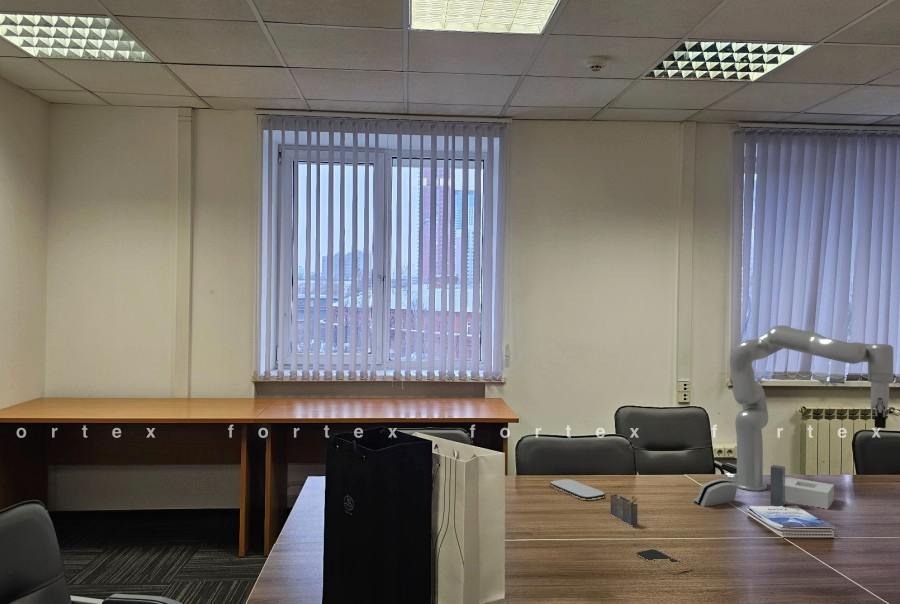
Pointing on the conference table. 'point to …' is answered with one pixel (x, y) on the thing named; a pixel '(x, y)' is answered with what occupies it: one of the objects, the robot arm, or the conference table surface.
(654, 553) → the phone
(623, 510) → the grey upright flat piece
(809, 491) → the well block
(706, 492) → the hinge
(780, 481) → the bracket bar
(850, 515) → the conference table surface
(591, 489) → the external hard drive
